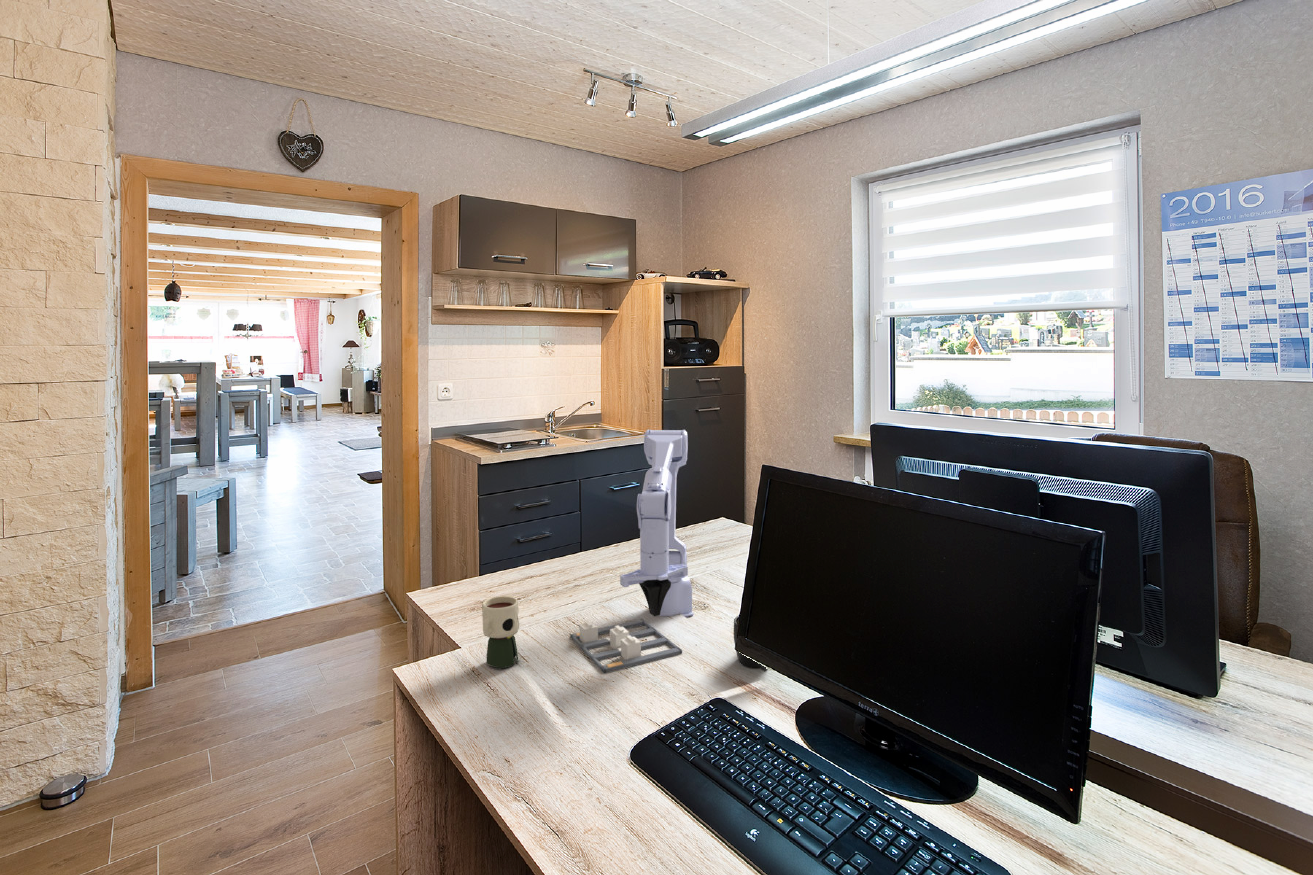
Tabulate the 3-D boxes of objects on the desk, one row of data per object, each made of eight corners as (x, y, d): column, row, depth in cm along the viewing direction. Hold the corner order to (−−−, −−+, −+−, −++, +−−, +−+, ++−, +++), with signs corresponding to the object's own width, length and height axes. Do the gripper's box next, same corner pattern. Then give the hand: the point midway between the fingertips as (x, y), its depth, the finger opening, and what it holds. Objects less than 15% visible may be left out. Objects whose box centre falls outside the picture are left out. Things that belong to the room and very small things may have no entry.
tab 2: (622, 642, 143) (622, 623, 142) (629, 647, 140) (628, 629, 140) (610, 645, 141) (609, 626, 141) (616, 650, 139) (615, 631, 138)
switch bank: (642, 626, 153) (642, 618, 153) (682, 658, 138) (682, 649, 137) (570, 642, 145) (570, 634, 145) (604, 678, 130) (603, 669, 129)
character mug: (501, 679, 130) (499, 614, 128) (471, 672, 132) (468, 609, 130) (532, 654, 140) (530, 594, 138) (503, 649, 142) (500, 590, 140)
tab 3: (634, 652, 138) (634, 633, 137) (640, 658, 135) (640, 639, 135) (621, 655, 137) (620, 636, 136) (627, 661, 134) (627, 642, 133)
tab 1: (592, 636, 145) (592, 618, 145) (598, 642, 143) (597, 623, 142) (579, 639, 144) (579, 621, 143) (584, 645, 141) (584, 626, 141)
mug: (778, 651, 141) (778, 607, 139) (773, 678, 129) (774, 631, 128) (738, 647, 143) (739, 604, 141) (730, 673, 131) (730, 627, 130)
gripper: (630, 560, 129) (631, 628, 131) (695, 549, 135) (695, 614, 137) (615, 551, 135) (616, 615, 137) (678, 540, 142) (678, 602, 143)
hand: (654, 614), depth 137 cm, fingers closed
